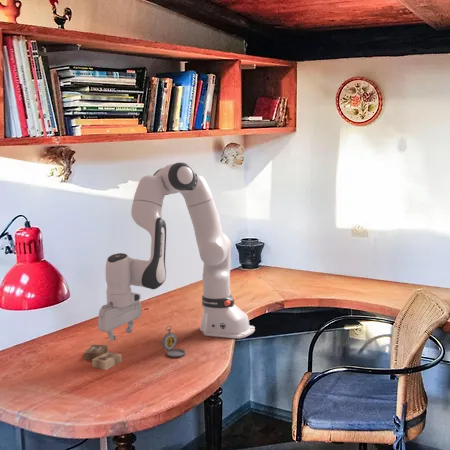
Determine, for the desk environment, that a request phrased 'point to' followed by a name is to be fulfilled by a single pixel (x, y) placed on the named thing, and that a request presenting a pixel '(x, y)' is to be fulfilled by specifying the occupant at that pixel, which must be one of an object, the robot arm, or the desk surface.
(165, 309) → the desk surface
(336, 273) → the desk surface
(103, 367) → the wooden letter t block
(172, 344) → the pocket watch
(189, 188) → the robot arm
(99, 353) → the wooden letter h block
